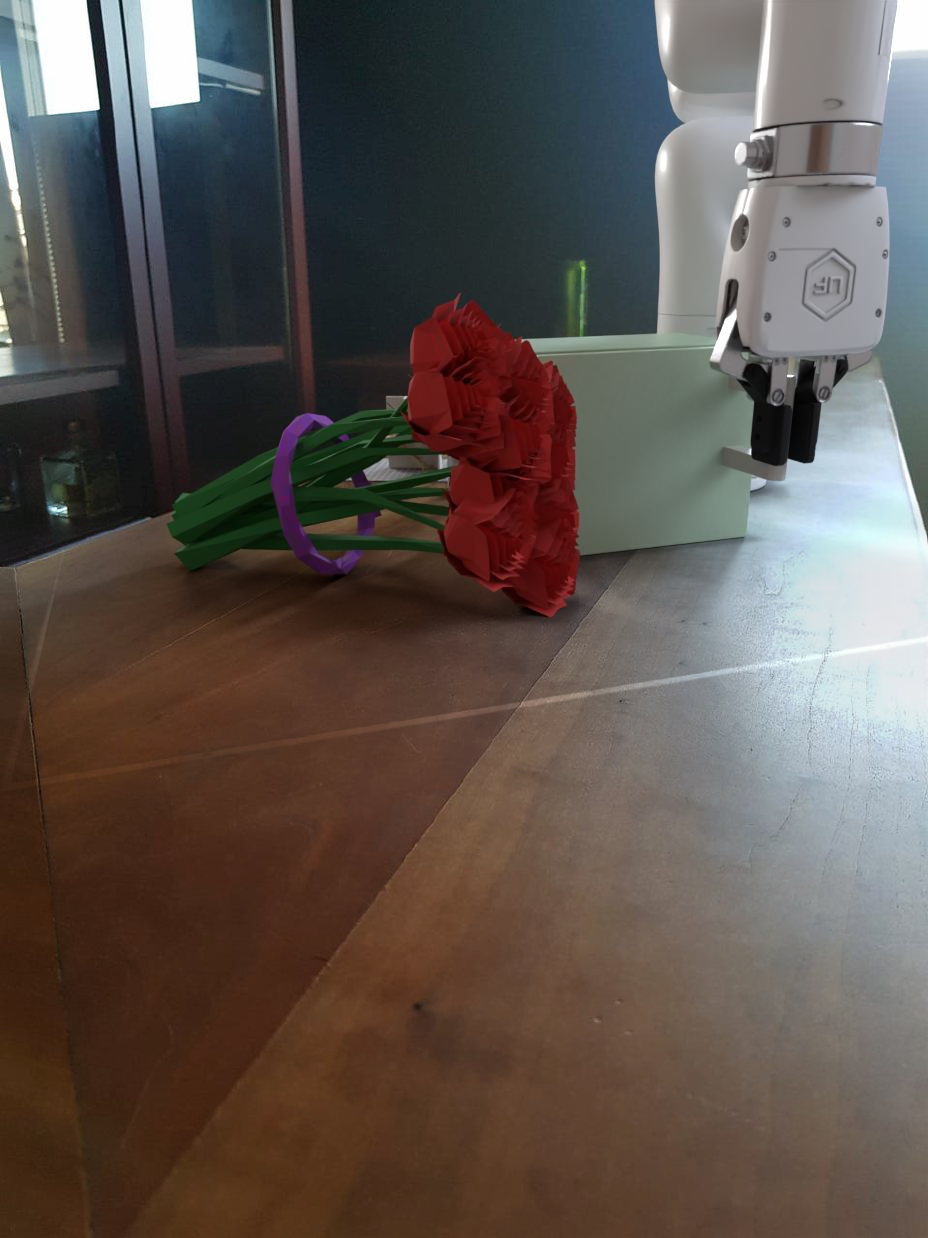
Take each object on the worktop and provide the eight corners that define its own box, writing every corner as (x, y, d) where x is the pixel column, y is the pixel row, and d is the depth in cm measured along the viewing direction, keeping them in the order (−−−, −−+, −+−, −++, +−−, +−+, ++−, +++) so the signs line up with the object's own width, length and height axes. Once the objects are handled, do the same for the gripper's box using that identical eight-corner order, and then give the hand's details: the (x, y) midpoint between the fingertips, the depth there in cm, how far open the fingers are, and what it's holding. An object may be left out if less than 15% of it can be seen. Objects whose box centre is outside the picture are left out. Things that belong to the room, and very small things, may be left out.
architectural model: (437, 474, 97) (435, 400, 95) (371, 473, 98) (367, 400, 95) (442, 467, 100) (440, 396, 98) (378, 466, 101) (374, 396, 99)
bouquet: (264, 607, 79) (616, 564, 67) (133, 685, 64) (553, 650, 52) (194, 367, 73) (563, 274, 61) (35, 394, 59) (477, 280, 47)
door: (796, 558, 68) (819, 352, 63) (571, 586, 63) (577, 364, 58) (739, 533, 74) (756, 344, 69) (530, 557, 69) (532, 354, 64)
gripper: (737, 155, 53) (711, 481, 59) (961, 159, 57) (914, 462, 64) (669, 168, 59) (652, 459, 66) (874, 171, 64) (840, 444, 70)
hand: (781, 459), depth 65 cm, fingers closed
